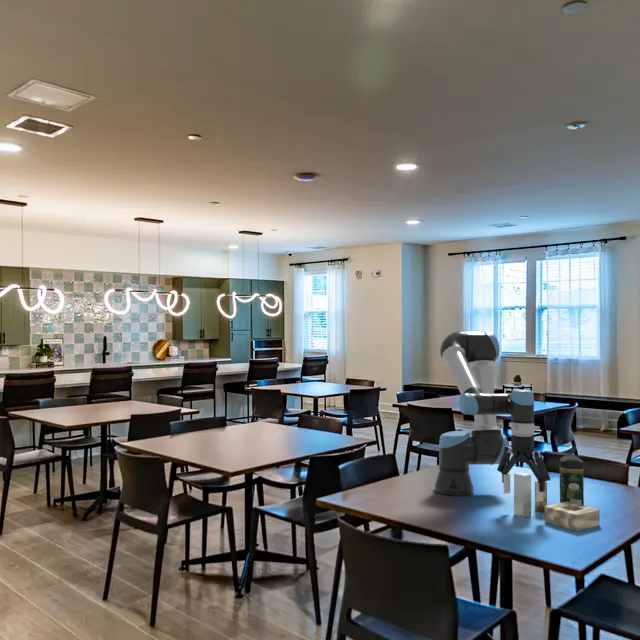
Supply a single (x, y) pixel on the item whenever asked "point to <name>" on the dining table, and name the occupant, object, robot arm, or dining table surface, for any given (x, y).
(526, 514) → the square bit
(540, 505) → the round bit
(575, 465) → the coffee jar
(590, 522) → the socket block
